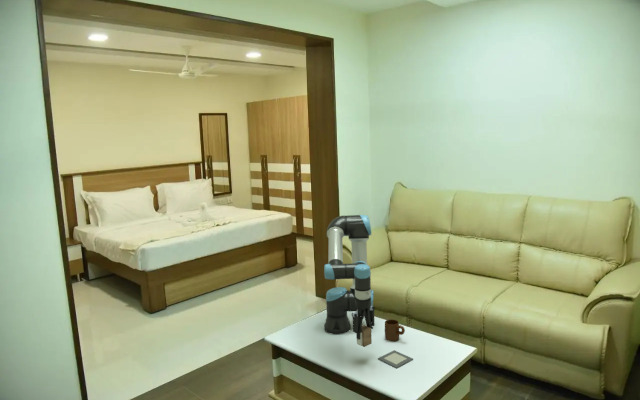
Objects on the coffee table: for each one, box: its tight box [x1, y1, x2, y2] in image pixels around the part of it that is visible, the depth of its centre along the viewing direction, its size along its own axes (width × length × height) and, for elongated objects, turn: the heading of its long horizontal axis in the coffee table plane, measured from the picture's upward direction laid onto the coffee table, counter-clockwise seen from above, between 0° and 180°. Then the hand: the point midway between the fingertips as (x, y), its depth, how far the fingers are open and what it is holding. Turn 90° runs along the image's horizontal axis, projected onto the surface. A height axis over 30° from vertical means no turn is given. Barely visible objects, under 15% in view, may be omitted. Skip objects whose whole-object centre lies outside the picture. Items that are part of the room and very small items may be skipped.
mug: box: [384, 318, 406, 342], centre depth 235 cm, size 12×8×9 cm, turn 43°
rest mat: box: [377, 349, 414, 369], centre depth 215 cm, size 12×12×1 cm
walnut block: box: [361, 324, 373, 348], centre depth 213 cm, size 5×5×8 cm
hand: (364, 342), depth 214 cm, fingers closed on walnut block, 5 cm apart
